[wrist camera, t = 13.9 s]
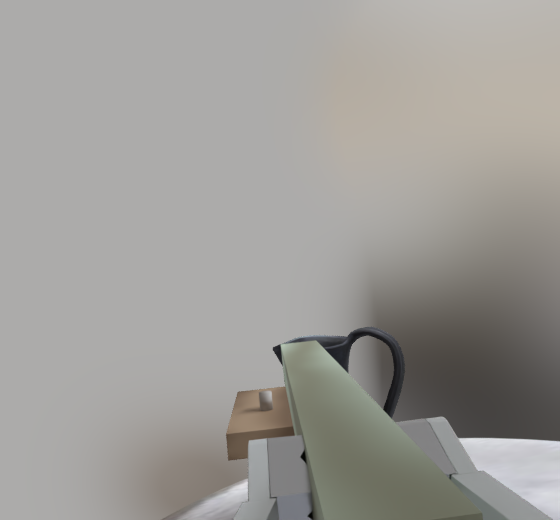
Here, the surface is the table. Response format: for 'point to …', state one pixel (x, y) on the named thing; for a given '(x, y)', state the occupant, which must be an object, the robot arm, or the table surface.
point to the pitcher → (341, 350)
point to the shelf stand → (258, 419)
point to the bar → (361, 449)
